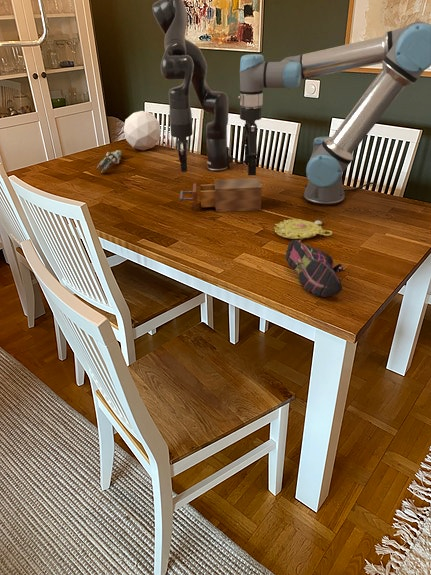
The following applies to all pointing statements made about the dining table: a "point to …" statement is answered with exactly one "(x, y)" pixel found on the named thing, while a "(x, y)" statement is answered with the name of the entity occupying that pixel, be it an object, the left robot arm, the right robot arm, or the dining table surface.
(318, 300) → the dining table surface
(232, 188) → the wooden drawer box
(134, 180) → the dining table surface
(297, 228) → the decorative object
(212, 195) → the drawer
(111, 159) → the figurine
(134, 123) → the sphere
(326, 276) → the athletic shoe
